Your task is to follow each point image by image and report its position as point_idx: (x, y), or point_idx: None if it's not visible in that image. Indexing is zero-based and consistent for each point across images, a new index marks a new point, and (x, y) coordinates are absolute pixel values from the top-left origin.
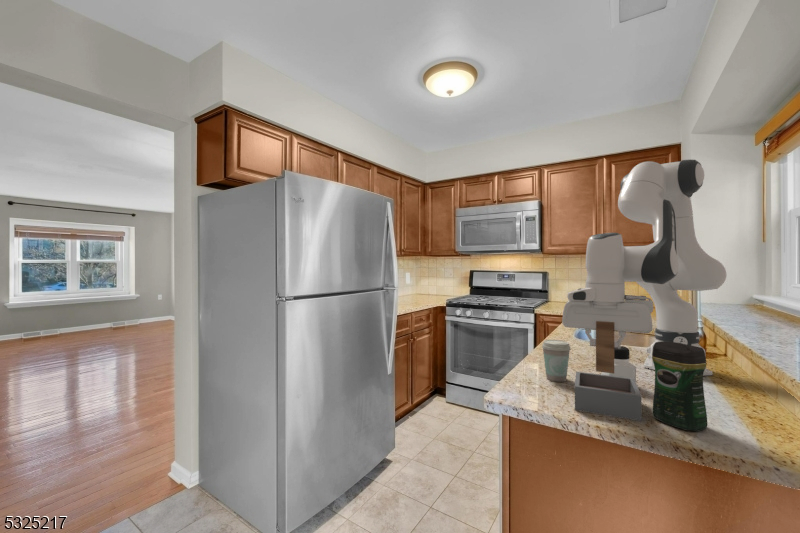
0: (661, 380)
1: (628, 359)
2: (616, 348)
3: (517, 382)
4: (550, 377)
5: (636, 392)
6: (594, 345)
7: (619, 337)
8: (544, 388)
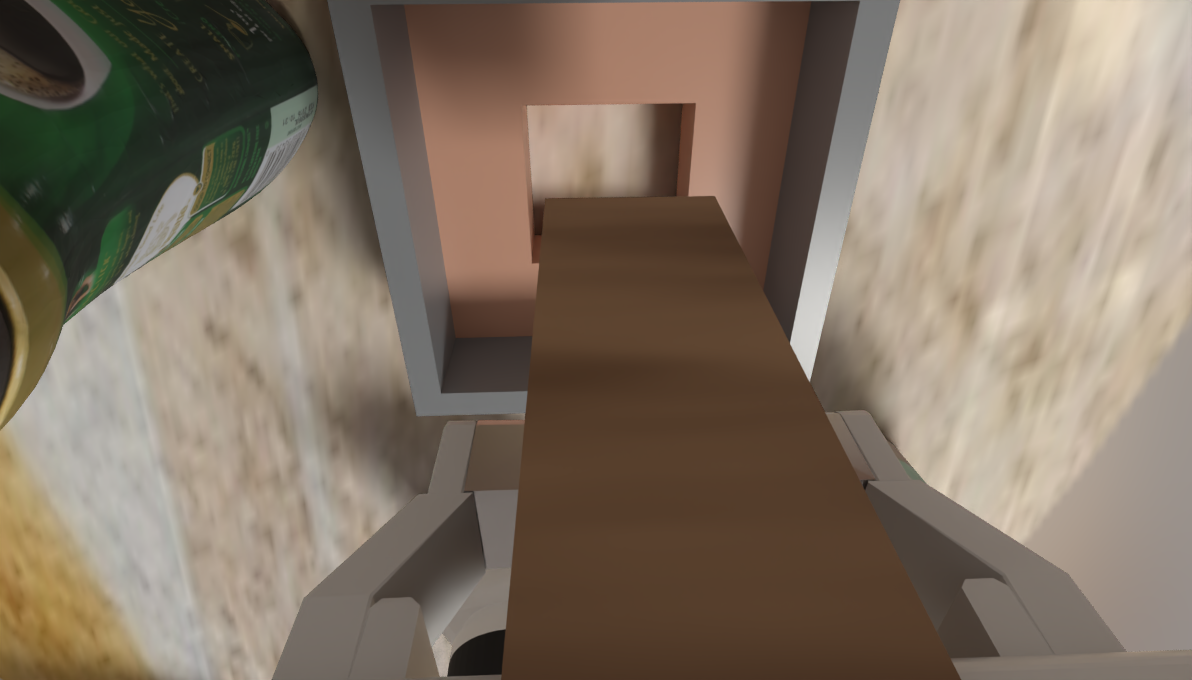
0: (46, 32)
1: (454, 650)
2: (502, 425)
3: (1114, 325)
4: (893, 451)
5: (367, 50)
6: None
7: (440, 617)
8: (954, 295)
